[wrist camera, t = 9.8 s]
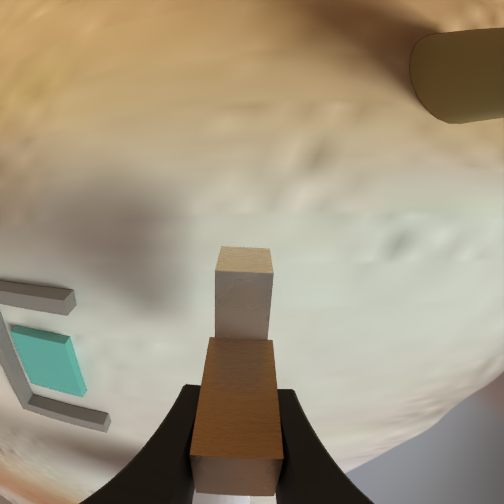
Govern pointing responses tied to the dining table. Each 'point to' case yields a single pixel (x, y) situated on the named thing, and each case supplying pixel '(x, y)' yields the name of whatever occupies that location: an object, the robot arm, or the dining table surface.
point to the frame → (5, 354)
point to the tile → (49, 360)
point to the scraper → (239, 384)
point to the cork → (460, 74)
